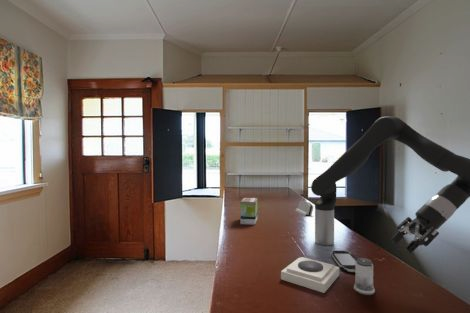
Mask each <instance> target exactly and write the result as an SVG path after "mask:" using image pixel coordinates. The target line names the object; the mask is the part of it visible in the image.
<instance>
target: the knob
mask: <svg viewBox="0 0 470 313" xmlns="http://www.w3.org/2000/svg"><path fill="white" fill-rule="evenodd" d="M354 274H355V277H354V279H355V282H354V284H353V290H354V292H356V293H358V294H361V295H365V296H372V295H375V293H376V289H375V287H374V263H373V261H372V260H371V259H368V258H366V257H365V258H364V257H358V258H357V261H356V262H355V273H354Z"/></svg>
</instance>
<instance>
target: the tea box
mask: <svg viewBox="0 0 470 313" xmlns="http://www.w3.org/2000/svg"><path fill="white" fill-rule="evenodd" d="M257 221H258V198H257V197H243V198H242V199H241V201H240V225H251V226H253V225H256V223H257Z"/></svg>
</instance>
